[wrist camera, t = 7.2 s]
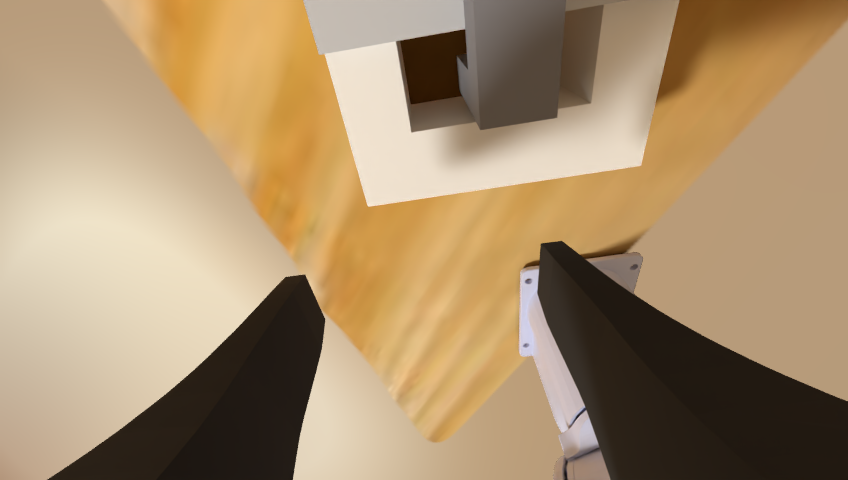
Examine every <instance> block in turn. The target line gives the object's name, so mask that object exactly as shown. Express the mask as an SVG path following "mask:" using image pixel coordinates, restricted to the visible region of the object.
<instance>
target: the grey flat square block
mask: <svg viewBox="0 0 848 480" xmlns="http://www.w3.org/2000/svg"><path fill="white" fill-rule="evenodd" d="M463 2H464V17H465V32H466V47H467V53H466V54H461V55H456V57H457V69H458V81H459V91H460V93H461V95H462V96H463V98H464V100H465V102H466V104H467V106H468V108H469V110H470V112H471V113H472V115H473V117H474V119H475V121H476V123H477V125H478V127H479V129H480V130H485V129H491V128H497V127H504V126H510V125H516V124H522V123H529V122H535V121H541V120H547V119H554V118H557V114H558V101H559V88H560V75H561V62H562V49H563V35H564V22H565V9H566V0H463Z"/></svg>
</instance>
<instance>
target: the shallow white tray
mask: <svg viewBox="0 0 848 480" xmlns="http://www.w3.org/2000/svg"><path fill="white" fill-rule="evenodd" d="M303 1H304V4H305V8H306V11H307V15H308V18H309V22H310V25H311V28H312V32H313V35H314V39H315V42H316V46H317V49H318V52H319V55H321V54H325V57H326V60H327V64H328V67H329V71H330V74H331V78H332V81H333V85H334V88H335V92H336V96H337V99H338V103H339V106H340V110H341V113H342V117H343V120H344V124H345V127H346V131H347V135H348V138H349V142H350V145H351V149H352V152H353V156H354V159H355V163H356V166H357V170H358V174H359V177H360V181H361V184H362V188H363V191H364V195H365V198H366V202H367V205H368V207H370V206H376V205H383V204H390V203H396V202H403V201H410V200H416V199H423V198H430V197H436V196H443V195H450V194H456V193H463V192H469V191H476V190H483V189H489V188H496V187H503V186H509V185H516V184H523V183H529V182H536V181H543V180H549V179H556V178H563V177H569V176H576V175H583V174H589V173H596V172H603V171H609V170H616V169H622V168H629V167H636V166H641V163H642V158H643V154H644V150H645V146H646V141H647V137H648V133H649V129H650V124H651V120H652V116H653V111H654V107H655V103H656V99H657V94H658V90H659V86H660V82H661V77H662V73H663V69H664V64H665V60H666V56H667V52H668V47H669V43H670V39H671V35H672V30H673V26H674V22H675V17H676V13H677V9H678V5H679V0H566V9H565V22H564V35H563V49H562V62H561V75H560V88H559V101H558V114H557V118H554V119H547V120H541V121H535V122H529V123H522V124H516V125H510V126H504V127H497V128H491V129H485V130H480V129H479V127H478V125H477V123H476V121H475V119H474V117H473V115H472V113H471V112H470V110H469V108H468V106H467V104H466V102H465V100H464V98H463V96H459V97H453V98H447V99H441V100H435V101H429V102H423V103H417V104H411V103H410V97H409V91H408V85H407V79H406V73H405V67H404V61H403V55H402V49H401V43H400V40H406V39H412V38H417V37H423V36H429V35H434V34H440V33H446V32H451V31H457V30H463V29H465V17H464V2H463V0H303Z"/></svg>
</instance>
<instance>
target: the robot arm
mask: <svg viewBox="0 0 848 480" xmlns="http://www.w3.org/2000/svg"><path fill="white" fill-rule="evenodd" d="M642 261H643V257H642V256H641V255H640V254H639V253H637V252H633V253H626V254H619V255H611V256H604V257H597V258H590V259H584V258H583V257H582V256H581V255H579V254H578V253H577V252H575V251H574V250H573V249H572V248H570V247H569V246H568V245H566V244H565V243H564V242H562V241H558V242H550V243H543V244H541V249H540V263H539V265H538V266H531V267H526V268H524V269H522V271H521V273H520V314H519V353H520V355H521V356H533V357H534V360H535V363H536V366H537V369H538V372H539V375H540V377H541V380H542V383H543V386H544V389H545V392H546V395H547V398H548V401H549V404H550V406H551V409H552V412H553V415H554V418H555V421H556V423H557V425H558V427H559V428H560V430H561V432H562V433H561V434H559V436H558V437H559V440H560V443H561V446H562V449H563V452H564V456H561V457H560V458H559V459H558V460H557V461H556V464H555V467H554V474H553V479H554V480H848V401H845V400H843V399H840V398H837V397H835V396H833V395H830V394H828V393H825V392H823V391H820V390H818V389H816V388H813V387H811V386H809V385H806V384H804V383H802V382H799V381H797V380H795V379H792V378H790V377H788V376H785V375H783V374H781V373H779V372H776V371H774V370H772V369H770V368H767V367H765V366H763V365H761V364H759V363H757V362H754V361H752V360H750V359H748V358H746V357H744V356H742V355H740V354H738V353H736V352H734V351H732V350H730V349H728V348H726V347H724V346H722V345H720V344H718V343H716V342H714V341H712V340H710V339H708V338H706V337H704V336H702V335H701V334H699V333H697V332H695V331H693V330H691V329H690V328H688V327H686V326H684V325H683V324H681V323H679V322H677V321H676V320H674V319H672V318H670V317H669V316H667V315H665V314H664V313H662V312H660V311H659V310H657V309H656V308H654V307H652V306H651V305H649V304H648V303H646V302H645V301H643V300H641V299H640V298H638V297H637V296H636V295H635V294H634V289H635V286H636V282H637V279H638V275H639V272H640V268H641V265H642ZM632 265H633V266H632ZM529 278H530V279H529ZM527 279H529V280H527ZM324 326H325V318H324V316H323V313H322V311H321V309H320V307H319V305H318V302H317V300H316V298H315V296H314V294H313V291H312V289H311V287H310V285H309V282H308V280H307V278H306V276H305V275H298V276H290V277H285V278H284V279H283V280H282V281H281V282H280V283H279V284H278V285H277V286H276V288H275V289H274V290H273V291H272V292H271V293H270V294H269V295H268V296H267V297H266V298H265V299H264V301H262V303H261V304H260V305H259V306H258V307H257V308H256V309H255V310H254V311H253V312H252V313H251V314H250V315H249V316H248V317H247V319H246V320H245V321H244V322H243V323H242V324H241V325H240V326H239V327H238V328H237V329H236V330H235V331H234V332H233V333H232V334H231V335H230V336H229V337H228V338H227V339H226V340H225V341H224V342H223V343H222V344H221V345H220V346H219V347H218V348H217V349H216V350H215V351H214V352H213V353H212V354H211V355H210V356H209V357H208V358H207V359H205V360H204V361H203V362H202V363H201V364H200V365H199V366H198V367H197V368H196V369H195V370H194V371H192V372H191V373H190V374H189V375H188V376H187V377H186V378H184V379H183V380H182V381H181V382H180V383H178V384H177V385H176V386H175V387H174V388H173V389H171V390H170V391H169V392H168V393H167V394H166V395H164V396H163V397H162V398H161V399H159V400H158V401H157V402H155V403H154V404H153V405H151V406H150V407H149V408H148V409H146V410H145V411H144V412H142V413H141V414H140V415H138V416H137V417H136V418H135V419H133V420H132V421H131V422H129V423H128V424H127V425H126V426H124V427H123V428H122V429H120V430H119V431H118V432H116V433H115V434H113V435H112V436H111V437H109V438H108V439H106V440H105V441H104V442H102V443H101V444H99V445H98V446H97V447H95V448H94V449H92V450H91V451H89V452H88V453H87V454H85V455H84V456H82V457H81V458H79V459H78V460H76V461H75V462H73V463H72V464H70V465H69V466H67V467H66V468H64V469H63V470H62V471H60V472H59V473H57V474H55V475H54V476H52V477H51V478H49V479H48V480H293V474H294V468H295V462H296V455H297V449H298V443H299V437H300V432H301V428H302V423H303V419H304V415H305V411H306V408H307V404H308V400H309V396H310V393H311V389H312V385H313V381H314V377H315V374H316V370H317V366H318V362H319V358H320V354H321V350H322V343H323V334H324Z"/></svg>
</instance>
